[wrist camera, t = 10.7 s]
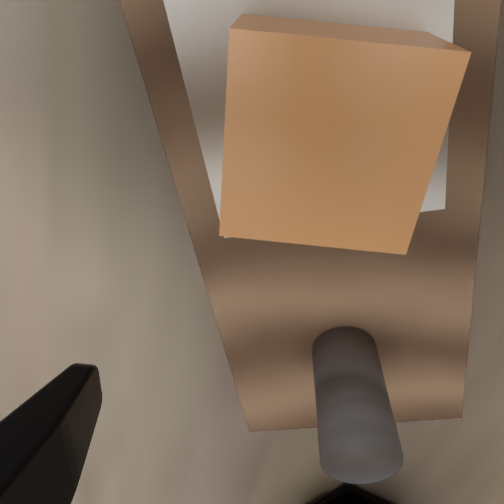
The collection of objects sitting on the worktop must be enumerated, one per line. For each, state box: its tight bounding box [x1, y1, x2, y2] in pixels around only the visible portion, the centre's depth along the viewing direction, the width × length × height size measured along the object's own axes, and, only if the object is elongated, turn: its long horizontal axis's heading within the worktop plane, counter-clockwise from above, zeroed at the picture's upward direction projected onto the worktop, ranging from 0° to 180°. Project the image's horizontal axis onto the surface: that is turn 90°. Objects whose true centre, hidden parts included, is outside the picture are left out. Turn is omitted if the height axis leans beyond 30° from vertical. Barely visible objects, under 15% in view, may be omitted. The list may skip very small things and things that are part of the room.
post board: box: [120, 0, 501, 484], centre depth 17 cm, size 24×12×8 cm, turn 11°
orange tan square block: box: [219, 14, 471, 255], centre depth 14 cm, size 6×6×4 cm
